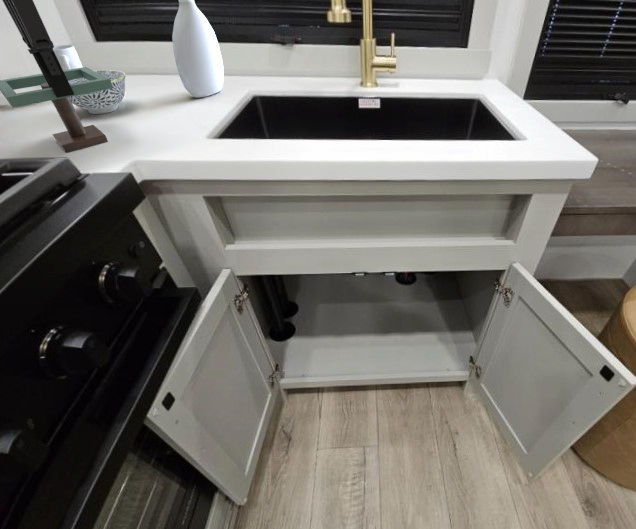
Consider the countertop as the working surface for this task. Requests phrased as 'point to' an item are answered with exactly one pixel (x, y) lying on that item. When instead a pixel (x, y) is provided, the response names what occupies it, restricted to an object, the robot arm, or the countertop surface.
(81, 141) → the peg stand
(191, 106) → the countertop surface
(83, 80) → the bowl
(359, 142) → the countertop surface
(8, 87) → the frame
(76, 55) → the mug
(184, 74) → the soap bottle
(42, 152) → the countertop surface
